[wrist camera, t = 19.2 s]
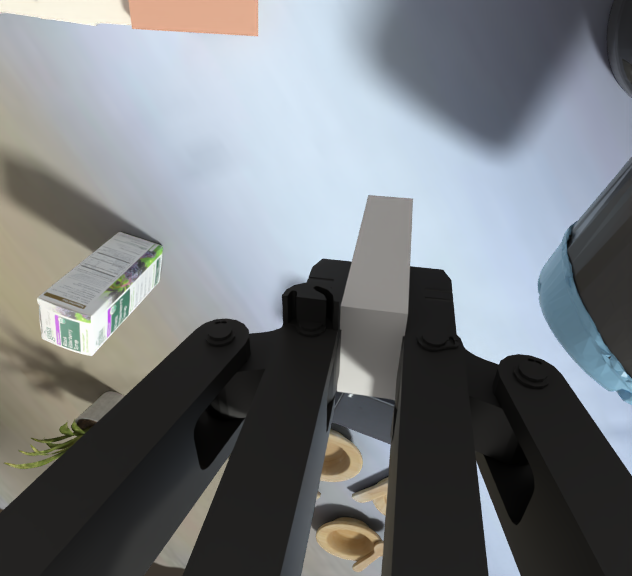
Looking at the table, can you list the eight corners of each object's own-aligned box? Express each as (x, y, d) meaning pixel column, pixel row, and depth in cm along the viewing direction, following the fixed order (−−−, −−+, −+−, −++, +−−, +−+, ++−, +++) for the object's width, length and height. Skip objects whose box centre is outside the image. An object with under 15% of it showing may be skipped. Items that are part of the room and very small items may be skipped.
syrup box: (161, 282, 58) (94, 359, 46) (116, 267, 58) (38, 341, 46) (164, 244, 55) (92, 317, 43) (117, 229, 55) (33, 297, 43)
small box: (337, 359, 60) (323, 422, 51) (356, 323, 56) (344, 385, 47) (413, 388, 60) (411, 456, 51) (436, 355, 56) (439, 422, 48)
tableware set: (211, 477, 81) (202, 498, 78) (291, 388, 65) (284, 410, 62) (374, 563, 87) (372, 586, 83) (485, 500, 70) (489, 526, 67)
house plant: (52, 365, 72) (-32, 453, 58) (128, 362, 68) (56, 455, 54) (95, 427, 79) (28, 519, 65) (165, 428, 75) (110, 525, 62)
